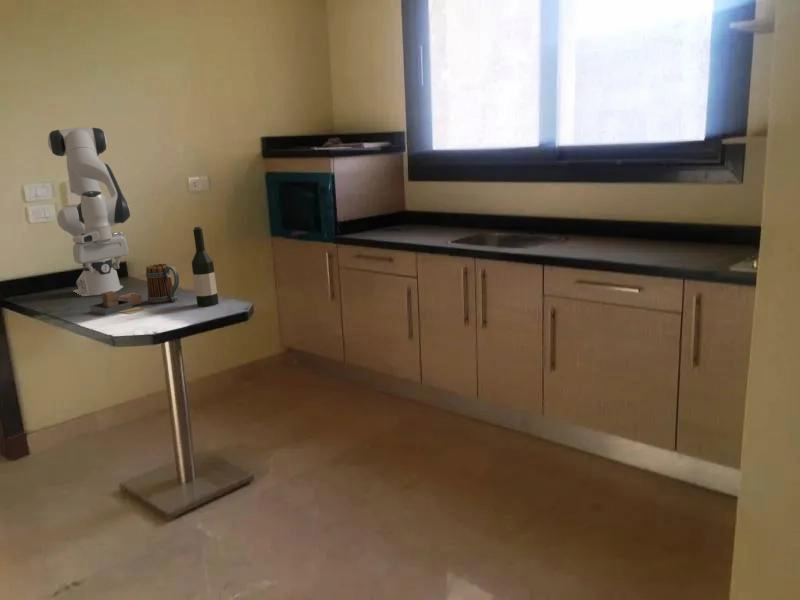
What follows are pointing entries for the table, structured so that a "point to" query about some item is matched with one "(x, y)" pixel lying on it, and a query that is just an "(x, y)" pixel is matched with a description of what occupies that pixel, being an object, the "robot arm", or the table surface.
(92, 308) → the tin
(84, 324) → the table surface
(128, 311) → the light wooden board
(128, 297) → the terracotta pot
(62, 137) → the robot arm
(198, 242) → the wine bottle
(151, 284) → the mug
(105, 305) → the walnut block
